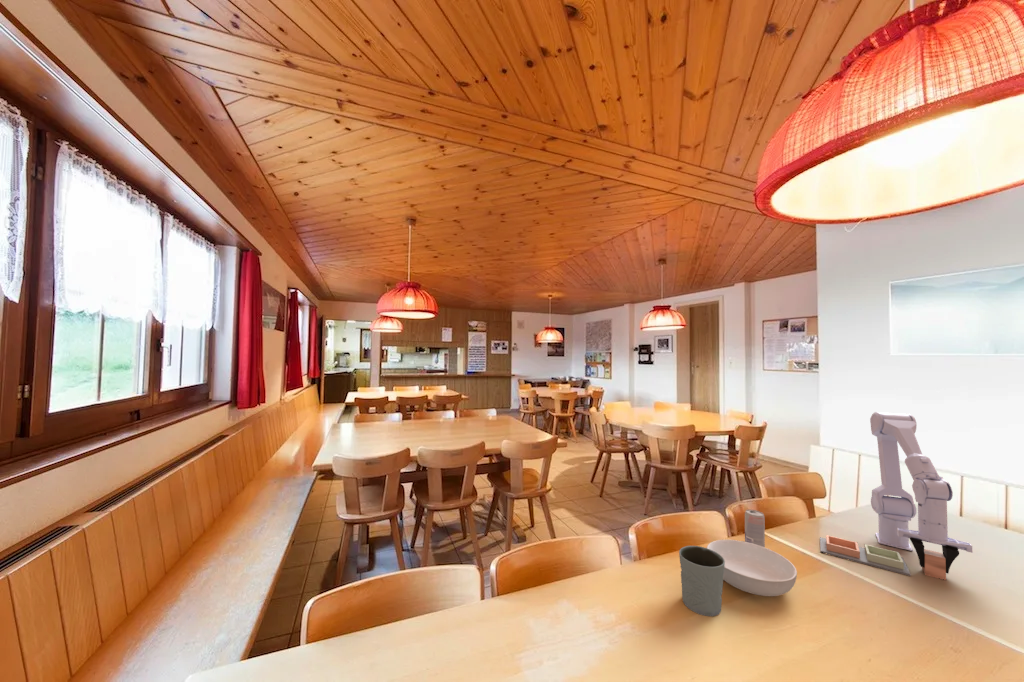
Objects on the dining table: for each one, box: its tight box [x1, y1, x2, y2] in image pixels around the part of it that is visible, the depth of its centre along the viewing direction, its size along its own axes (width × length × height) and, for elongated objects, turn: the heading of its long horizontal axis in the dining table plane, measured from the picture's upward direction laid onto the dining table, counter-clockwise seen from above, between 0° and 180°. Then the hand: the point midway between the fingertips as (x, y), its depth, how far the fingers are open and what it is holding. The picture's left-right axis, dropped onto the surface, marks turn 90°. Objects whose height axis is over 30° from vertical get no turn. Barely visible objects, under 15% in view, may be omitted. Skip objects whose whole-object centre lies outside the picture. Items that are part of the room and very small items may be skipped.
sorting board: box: [819, 534, 912, 577], centre depth 119 cm, size 12×20×3 cm, turn 52°
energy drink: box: [744, 509, 766, 548], centre depth 121 cm, size 5×5×12 cm
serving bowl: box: [706, 539, 798, 597], centre depth 103 cm, size 21×21×7 cm
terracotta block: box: [921, 548, 947, 581], centre depth 110 cm, size 4×4×6 cm
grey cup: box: [678, 545, 725, 617], centre depth 93 cm, size 10×10×12 cm
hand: (933, 568), depth 109 cm, fingers closed on terracotta block, 4 cm apart
